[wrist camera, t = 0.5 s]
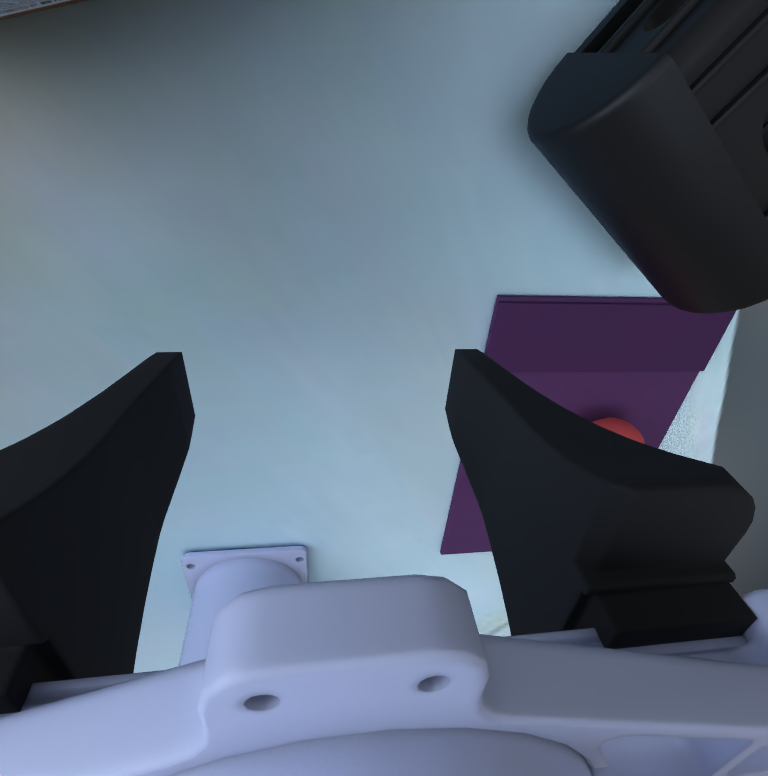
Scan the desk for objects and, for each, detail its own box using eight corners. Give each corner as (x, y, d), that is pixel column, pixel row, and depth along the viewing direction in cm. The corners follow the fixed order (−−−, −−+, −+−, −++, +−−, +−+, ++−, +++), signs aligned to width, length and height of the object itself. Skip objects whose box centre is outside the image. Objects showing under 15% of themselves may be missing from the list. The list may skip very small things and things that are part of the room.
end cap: (495, 124, 19) (572, 154, 13) (650, -57, 16) (826, -114, 11) (625, 275, 23) (723, 343, 18) (762, 152, 21) (926, 188, 15)
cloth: (605, 541, 36) (608, 546, 36) (440, 551, 34) (441, 557, 34) (734, 298, 25) (741, 302, 24) (497, 294, 23) (500, 299, 23)
